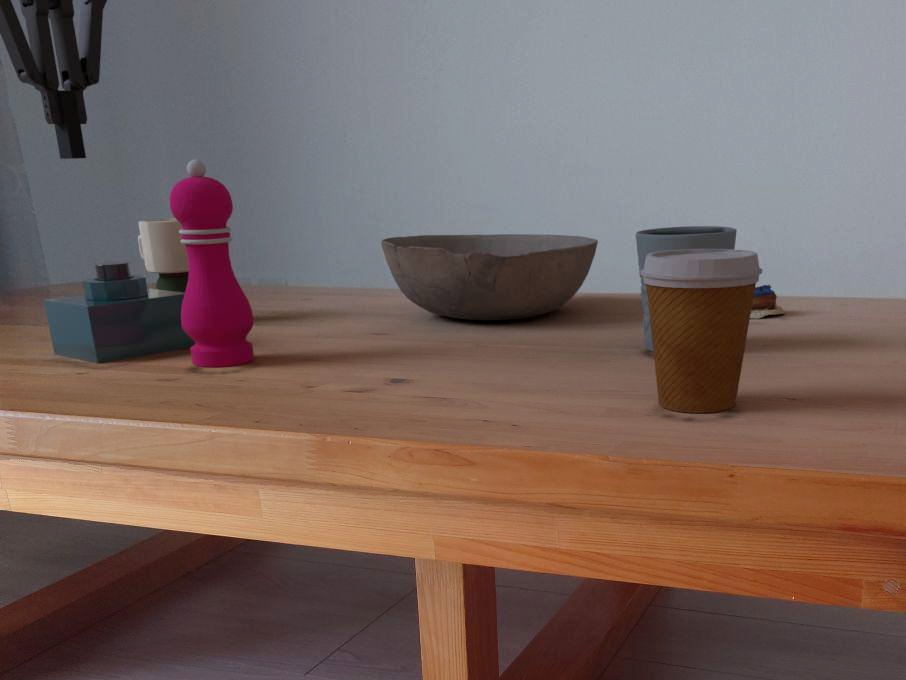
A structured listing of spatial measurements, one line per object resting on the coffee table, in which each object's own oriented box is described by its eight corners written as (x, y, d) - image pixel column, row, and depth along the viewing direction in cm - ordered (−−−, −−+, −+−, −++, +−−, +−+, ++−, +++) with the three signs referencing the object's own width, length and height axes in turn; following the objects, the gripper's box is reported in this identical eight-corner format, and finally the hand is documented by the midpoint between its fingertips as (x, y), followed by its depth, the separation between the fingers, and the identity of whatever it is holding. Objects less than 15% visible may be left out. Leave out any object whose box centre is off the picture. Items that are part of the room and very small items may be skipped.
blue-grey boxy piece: (97, 363, 107) (83, 287, 104) (54, 354, 113) (39, 281, 111) (197, 346, 116) (187, 274, 113) (152, 338, 122) (141, 270, 119)
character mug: (233, 320, 134) (220, 217, 129) (195, 328, 128) (180, 221, 123) (171, 317, 138) (156, 217, 134) (132, 325, 132) (114, 221, 128)
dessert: (749, 314, 122) (736, 271, 123) (719, 340, 127) (707, 298, 129) (800, 313, 125) (787, 271, 126) (769, 338, 131) (756, 298, 132)
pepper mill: (174, 363, 106) (142, 161, 99) (235, 353, 111) (209, 159, 104) (210, 371, 102) (179, 159, 94) (272, 360, 106) (247, 158, 99)
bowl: (347, 327, 126) (339, 244, 122) (449, 297, 149) (445, 227, 146) (550, 336, 116) (548, 245, 112) (625, 302, 139) (626, 227, 136)
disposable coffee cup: (780, 406, 82) (789, 253, 78) (690, 424, 77) (695, 262, 73) (702, 386, 89) (706, 246, 85) (616, 402, 85) (616, 254, 80)
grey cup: (751, 348, 106) (757, 228, 101) (674, 360, 101) (677, 235, 96) (690, 335, 114) (693, 224, 109) (616, 345, 109) (616, 230, 105)
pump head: (107, 285, 109) (104, 265, 109) (91, 283, 112) (88, 263, 111) (138, 281, 112) (135, 262, 111) (122, 279, 114) (118, 260, 113)
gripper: (-26, -120, 91) (26, 158, 100) (111, -96, 101) (148, 157, 109) (-58, -105, 96) (-6, 159, 104) (75, -84, 105) (114, 158, 113)
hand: (73, 158), depth 107 cm, fingers closed
